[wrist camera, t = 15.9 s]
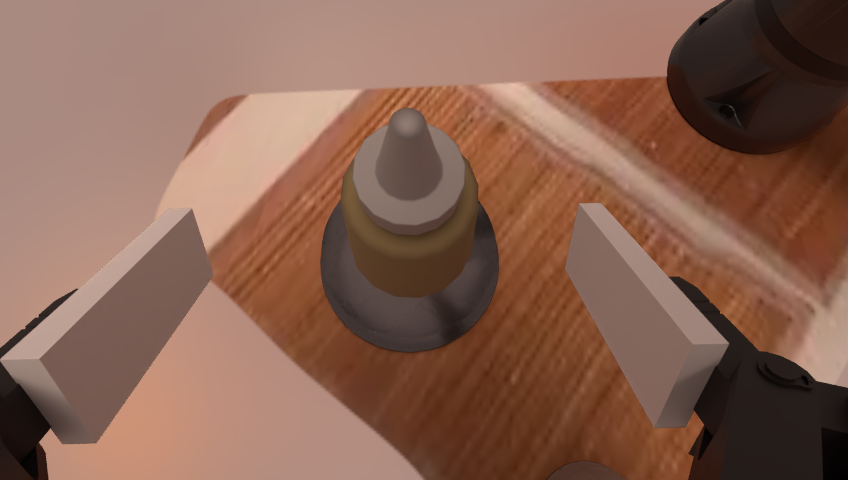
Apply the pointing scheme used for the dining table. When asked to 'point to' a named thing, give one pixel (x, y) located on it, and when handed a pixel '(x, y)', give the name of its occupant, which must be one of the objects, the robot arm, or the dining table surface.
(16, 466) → the robot arm
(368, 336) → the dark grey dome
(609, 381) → the dining table surface
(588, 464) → the thermos bottle
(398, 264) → the squeeze bottle
